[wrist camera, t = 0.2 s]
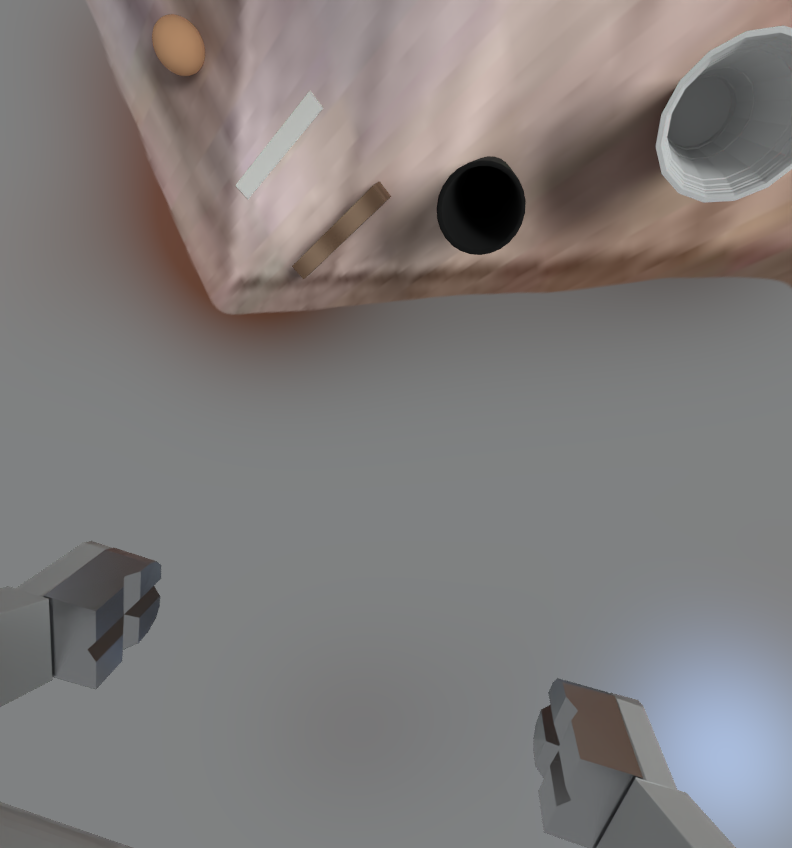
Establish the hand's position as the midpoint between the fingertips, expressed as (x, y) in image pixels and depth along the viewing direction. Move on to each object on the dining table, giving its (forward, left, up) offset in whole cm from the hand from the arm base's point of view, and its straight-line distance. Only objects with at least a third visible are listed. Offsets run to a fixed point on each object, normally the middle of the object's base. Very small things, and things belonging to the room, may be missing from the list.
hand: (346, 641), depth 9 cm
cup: (0, 0, -52) cm, 52 cm away
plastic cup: (-18, +7, -52) cm, 56 cm away
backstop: (+16, -7, -52) cm, 55 cm away
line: (+16, -18, -52) cm, 57 cm away
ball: (+16, -30, -49) cm, 60 cm away
